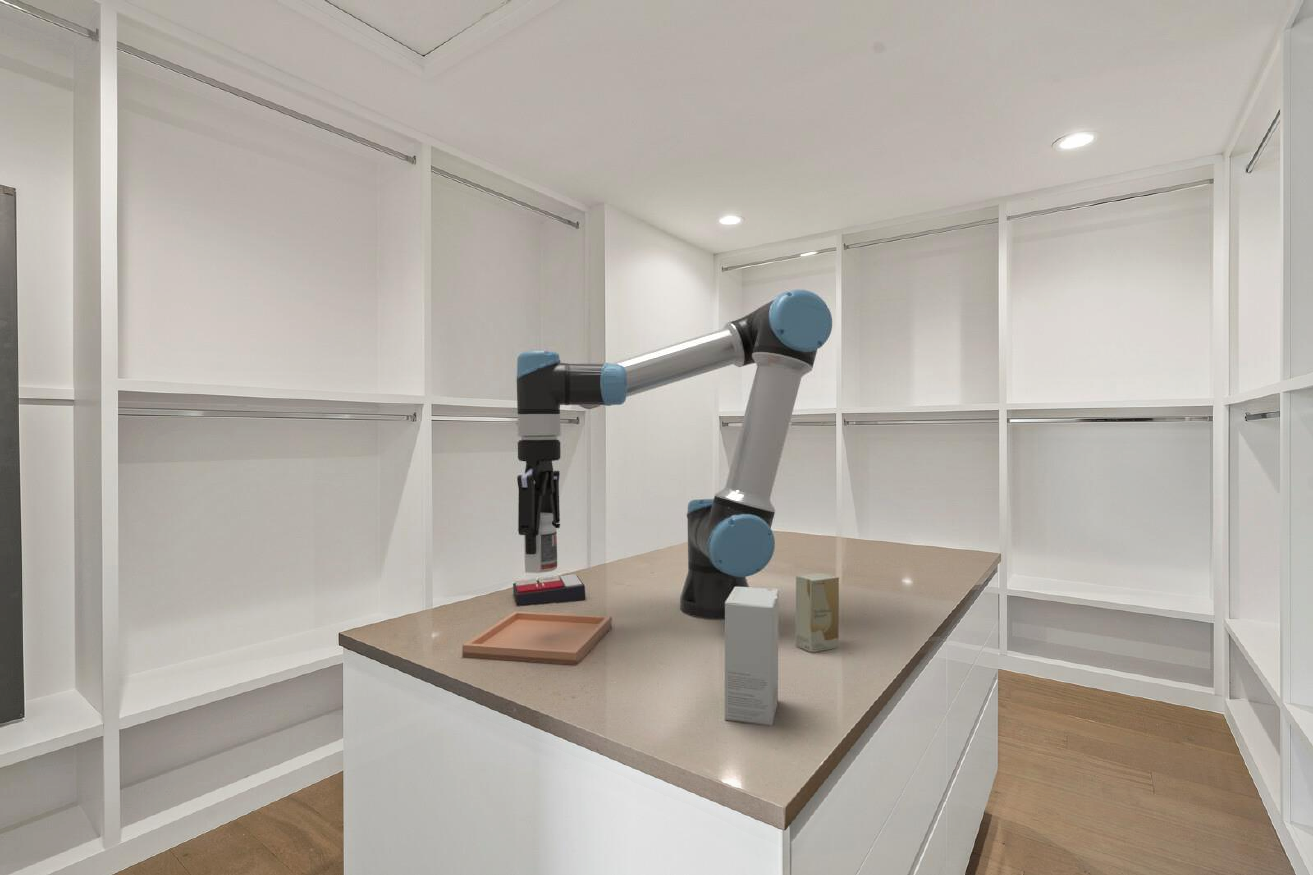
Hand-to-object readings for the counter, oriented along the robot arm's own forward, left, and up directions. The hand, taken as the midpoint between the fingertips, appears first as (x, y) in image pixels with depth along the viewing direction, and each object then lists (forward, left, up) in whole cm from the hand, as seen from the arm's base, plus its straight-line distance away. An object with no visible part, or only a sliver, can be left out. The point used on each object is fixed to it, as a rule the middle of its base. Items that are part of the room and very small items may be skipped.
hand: (540, 568), depth 114 cm
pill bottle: (0, 0, -1) cm, 1 cm away
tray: (0, 0, -13) cm, 13 cm away
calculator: (+10, -29, -14) cm, 33 cm away
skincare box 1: (-39, +21, -13) cm, 46 cm away
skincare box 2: (-48, -6, -13) cm, 50 cm away
